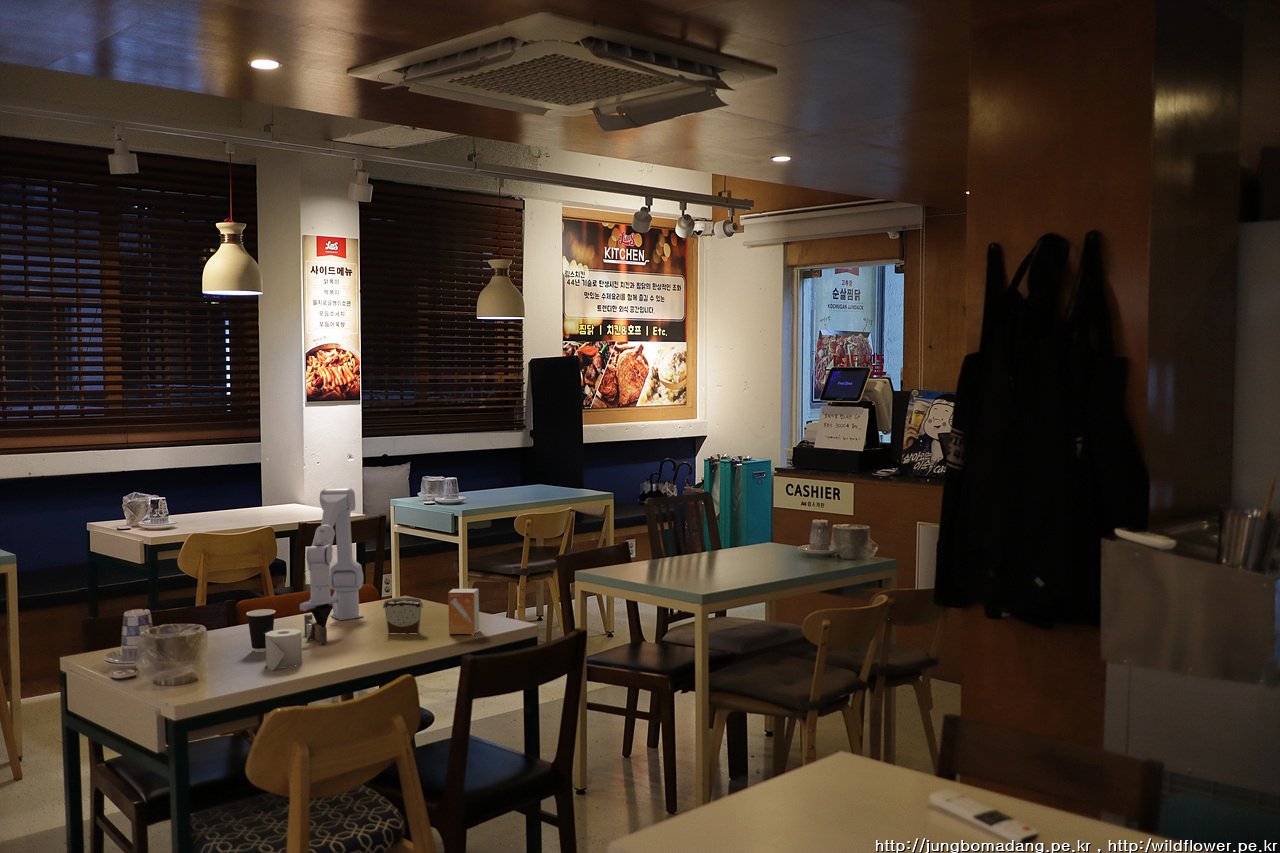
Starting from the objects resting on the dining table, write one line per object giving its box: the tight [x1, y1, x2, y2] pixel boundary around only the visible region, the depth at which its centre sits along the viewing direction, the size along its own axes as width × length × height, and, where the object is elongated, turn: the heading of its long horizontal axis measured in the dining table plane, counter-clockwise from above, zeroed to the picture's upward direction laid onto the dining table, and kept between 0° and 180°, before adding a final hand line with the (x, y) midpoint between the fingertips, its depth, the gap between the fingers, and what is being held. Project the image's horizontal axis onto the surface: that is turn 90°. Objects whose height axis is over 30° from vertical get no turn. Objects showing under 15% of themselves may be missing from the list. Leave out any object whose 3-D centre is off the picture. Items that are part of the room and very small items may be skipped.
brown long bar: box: [308, 619, 328, 645], centre depth 324 cm, size 18×2×4 cm, turn 30°
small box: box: [447, 588, 480, 635], centre depth 329 cm, size 8×6×13 cm
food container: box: [382, 597, 424, 634], centre depth 332 cm, size 12×6×10 cm, turn 84°
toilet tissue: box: [265, 628, 303, 671], centre depth 294 cm, size 9×13×9 cm
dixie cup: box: [246, 608, 277, 653], centre depth 312 cm, size 8×8×11 cm
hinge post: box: [303, 613, 314, 635], centre depth 333 cm, size 2×2×6 cm
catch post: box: [306, 624, 315, 641], centre depth 324 cm, size 2×2×4 cm
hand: (321, 630), depth 327 cm, fingers closed
